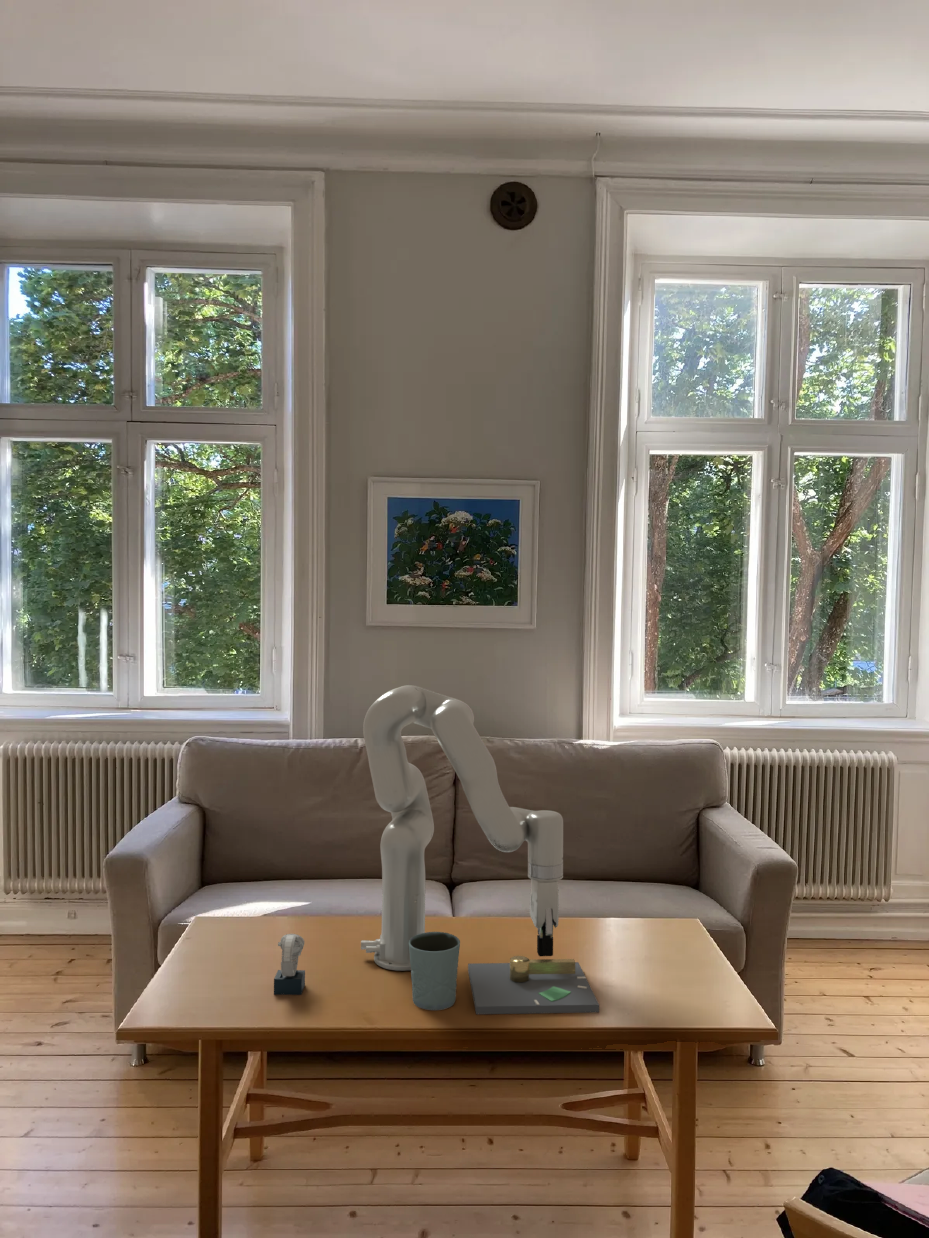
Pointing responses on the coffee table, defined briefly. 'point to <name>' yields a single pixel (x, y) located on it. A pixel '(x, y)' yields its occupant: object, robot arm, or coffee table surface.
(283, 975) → the grey and black figurine
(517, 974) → the needle
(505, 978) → the dial plate
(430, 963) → the teal cup
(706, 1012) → the coffee table surface
